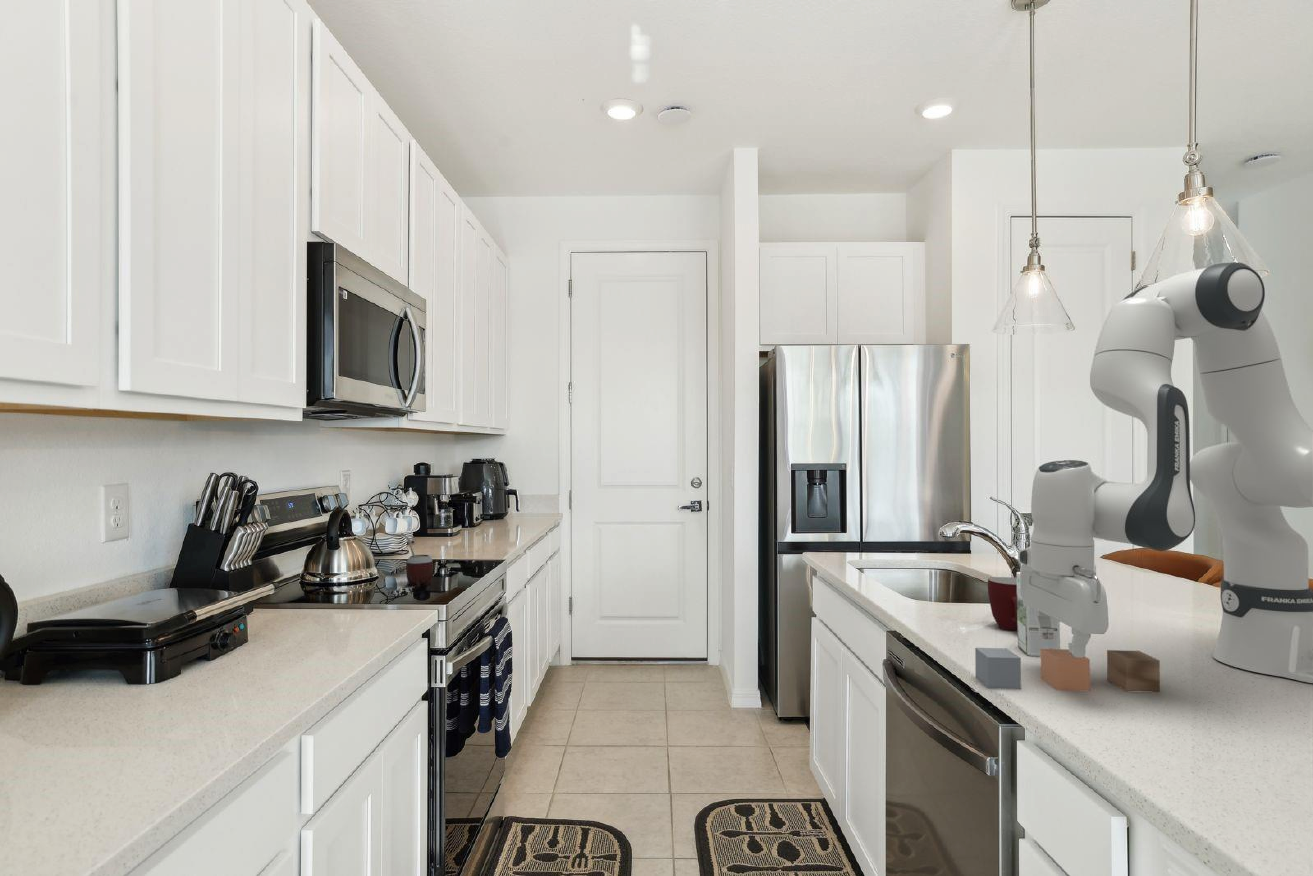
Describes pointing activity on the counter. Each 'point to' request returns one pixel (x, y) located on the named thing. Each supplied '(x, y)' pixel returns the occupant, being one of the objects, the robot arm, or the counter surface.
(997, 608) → the mug
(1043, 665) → the terracotta block
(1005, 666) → the slate block
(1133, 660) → the walnut block
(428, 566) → the mate gourd
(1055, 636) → the syrup box
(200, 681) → the counter surface
